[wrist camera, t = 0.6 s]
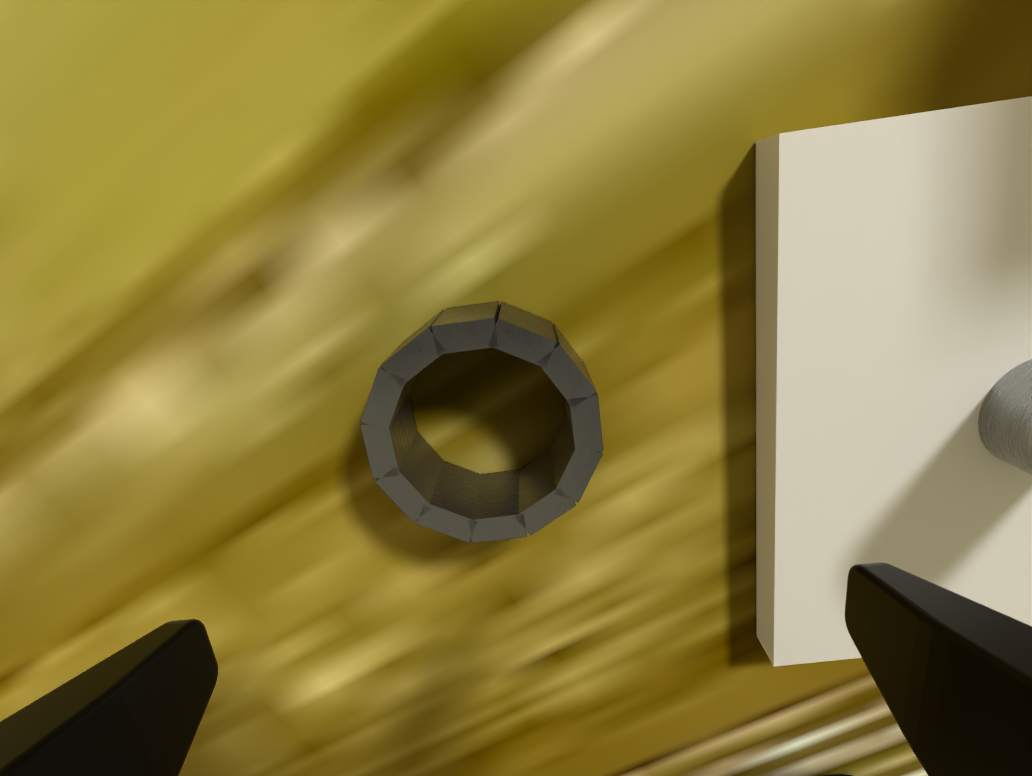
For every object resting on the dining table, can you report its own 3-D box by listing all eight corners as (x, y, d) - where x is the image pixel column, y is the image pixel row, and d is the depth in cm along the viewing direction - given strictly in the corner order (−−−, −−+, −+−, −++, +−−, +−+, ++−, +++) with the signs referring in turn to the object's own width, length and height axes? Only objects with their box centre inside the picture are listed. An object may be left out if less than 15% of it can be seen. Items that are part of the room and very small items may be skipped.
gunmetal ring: (597, 480, 19) (610, 527, 16) (410, 502, 19) (390, 552, 16) (577, 290, 17) (589, 304, 14) (369, 318, 17) (339, 338, 14)
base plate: (1183, 592, 20) (1234, 620, 19) (756, 636, 21) (773, 666, 20) (1338, 54, 15) (1426, 37, 13) (755, 141, 16) (779, 133, 14)
